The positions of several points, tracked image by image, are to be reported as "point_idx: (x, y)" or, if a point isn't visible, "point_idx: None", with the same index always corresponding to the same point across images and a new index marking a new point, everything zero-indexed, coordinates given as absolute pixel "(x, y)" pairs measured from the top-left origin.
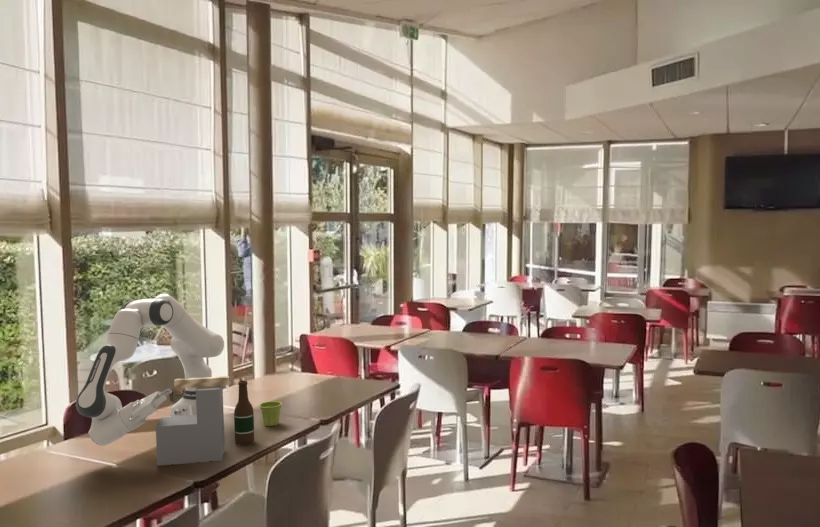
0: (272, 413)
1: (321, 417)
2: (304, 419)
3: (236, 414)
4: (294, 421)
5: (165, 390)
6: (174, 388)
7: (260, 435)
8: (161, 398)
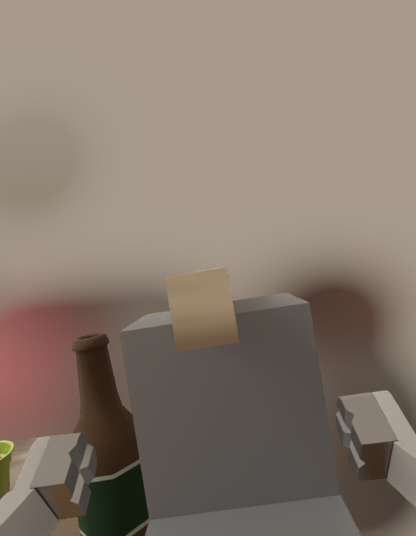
0: (7, 473)
1: (30, 446)
2: (15, 466)
3: (123, 459)
4: (12, 479)
5: (20, 481)
6: (238, 340)
7: (77, 528)
8: (406, 430)
